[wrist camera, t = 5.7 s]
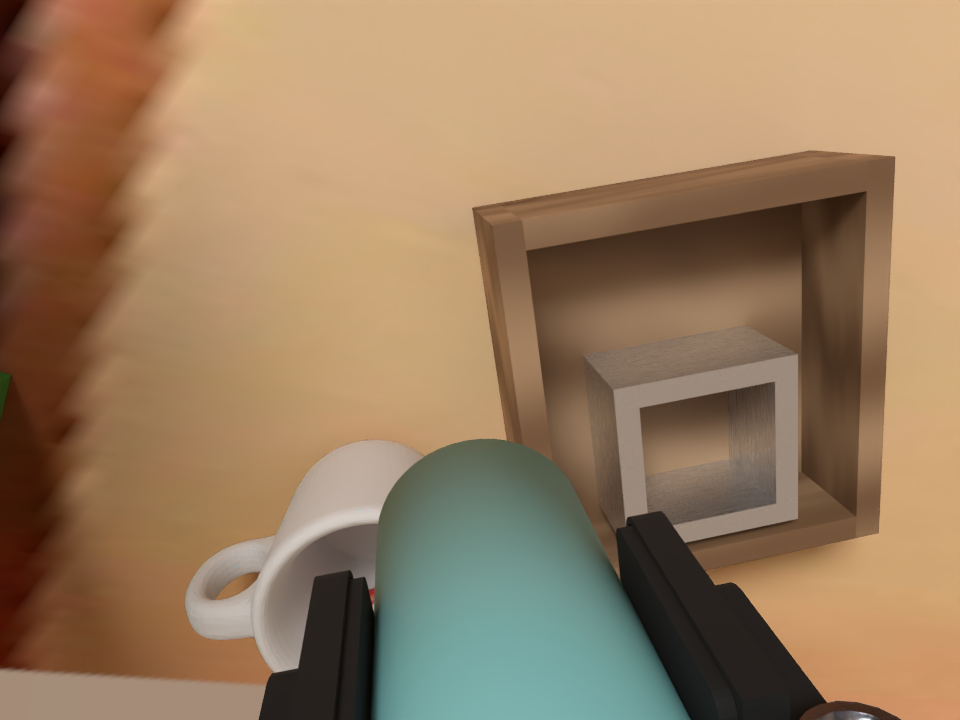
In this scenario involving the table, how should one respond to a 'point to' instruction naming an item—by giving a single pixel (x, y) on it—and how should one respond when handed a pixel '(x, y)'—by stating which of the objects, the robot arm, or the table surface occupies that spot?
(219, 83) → the table surface
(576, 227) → the box
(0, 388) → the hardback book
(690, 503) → the socket
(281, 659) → the cup
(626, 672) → the plug
